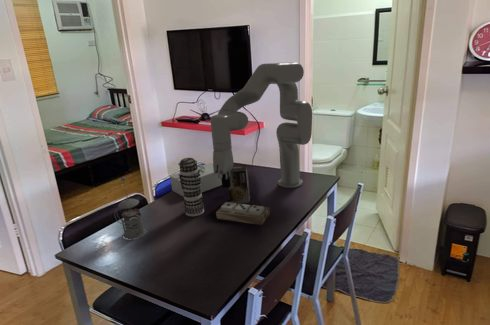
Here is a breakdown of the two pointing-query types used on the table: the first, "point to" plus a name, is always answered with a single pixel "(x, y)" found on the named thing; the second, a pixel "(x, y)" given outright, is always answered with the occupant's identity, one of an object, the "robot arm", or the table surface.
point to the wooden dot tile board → (243, 216)
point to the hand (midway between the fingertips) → (226, 186)
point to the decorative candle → (191, 187)
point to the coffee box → (239, 185)
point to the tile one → (228, 207)
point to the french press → (135, 229)
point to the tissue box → (207, 180)
